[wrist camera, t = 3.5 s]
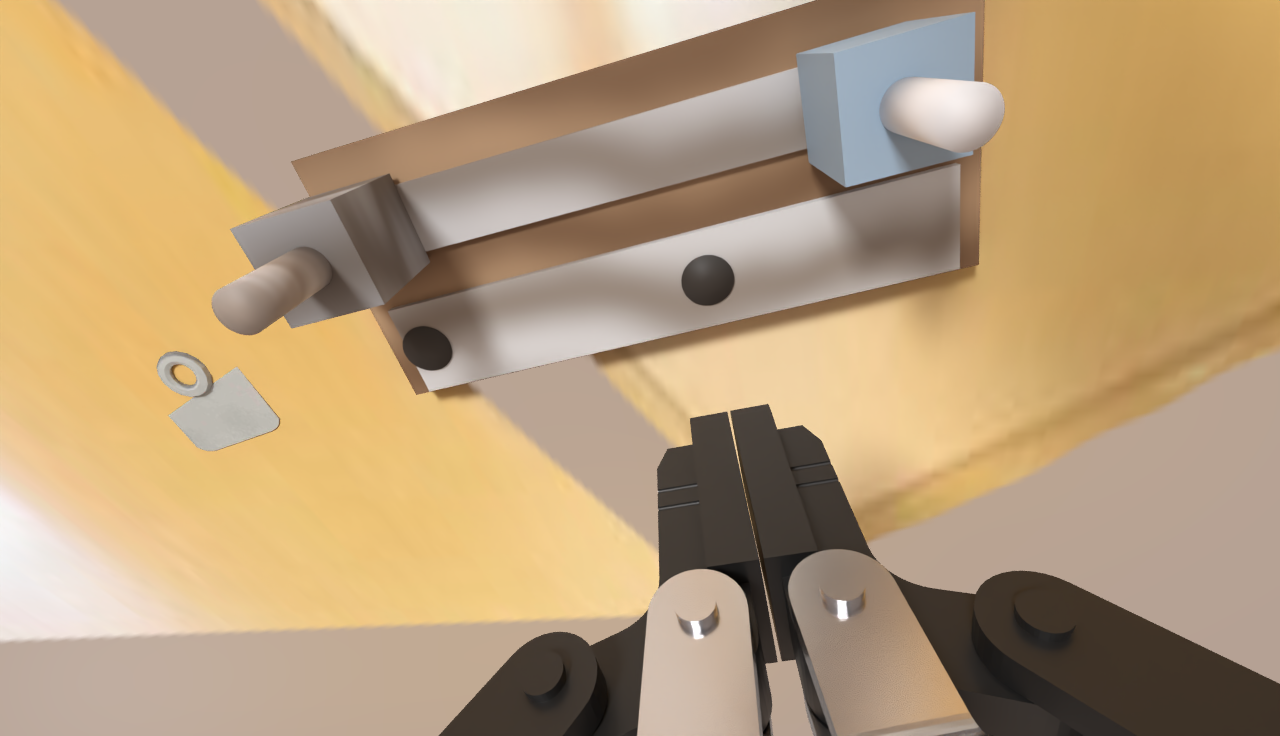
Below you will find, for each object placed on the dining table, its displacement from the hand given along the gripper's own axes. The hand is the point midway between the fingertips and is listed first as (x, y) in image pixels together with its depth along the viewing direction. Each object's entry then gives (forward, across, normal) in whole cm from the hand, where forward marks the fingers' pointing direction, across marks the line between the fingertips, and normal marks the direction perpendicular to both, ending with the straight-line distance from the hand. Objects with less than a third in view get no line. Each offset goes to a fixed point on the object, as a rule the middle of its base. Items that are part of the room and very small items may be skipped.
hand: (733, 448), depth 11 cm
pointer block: (+15, -7, -4) cm, 17 cm away
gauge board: (+17, +2, -1) cm, 17 cm away
